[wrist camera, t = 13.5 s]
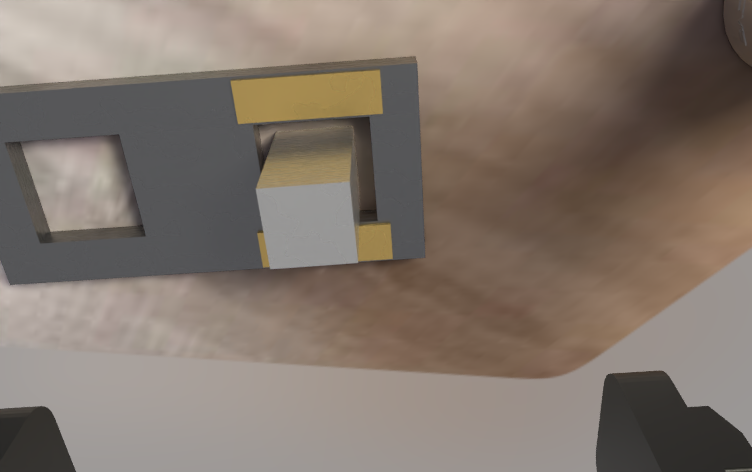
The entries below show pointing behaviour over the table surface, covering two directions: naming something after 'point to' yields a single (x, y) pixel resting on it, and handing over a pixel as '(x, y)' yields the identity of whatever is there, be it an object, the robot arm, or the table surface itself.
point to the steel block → (310, 198)
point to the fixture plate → (204, 165)
